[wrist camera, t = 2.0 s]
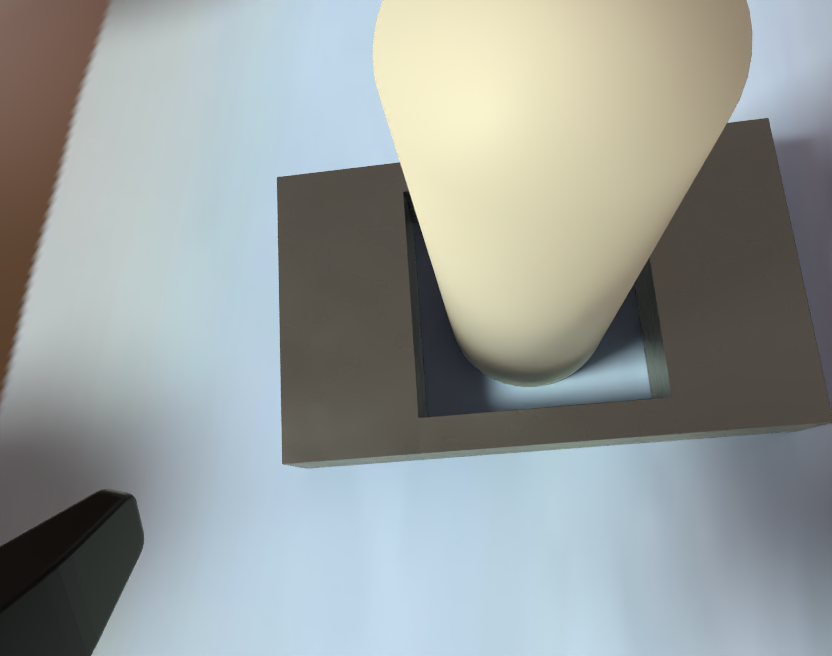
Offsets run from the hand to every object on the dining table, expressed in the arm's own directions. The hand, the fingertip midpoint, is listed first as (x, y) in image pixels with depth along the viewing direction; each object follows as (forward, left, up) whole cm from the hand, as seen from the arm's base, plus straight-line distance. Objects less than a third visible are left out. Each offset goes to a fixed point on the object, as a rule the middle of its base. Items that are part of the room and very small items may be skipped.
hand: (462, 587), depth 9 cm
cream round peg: (+2, +7, -13) cm, 15 cm away
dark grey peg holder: (+2, +7, -13) cm, 15 cm away
